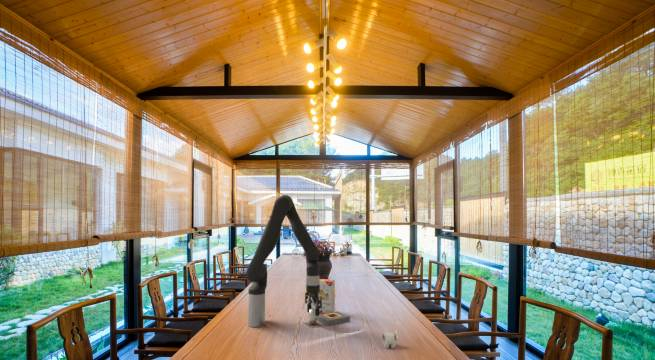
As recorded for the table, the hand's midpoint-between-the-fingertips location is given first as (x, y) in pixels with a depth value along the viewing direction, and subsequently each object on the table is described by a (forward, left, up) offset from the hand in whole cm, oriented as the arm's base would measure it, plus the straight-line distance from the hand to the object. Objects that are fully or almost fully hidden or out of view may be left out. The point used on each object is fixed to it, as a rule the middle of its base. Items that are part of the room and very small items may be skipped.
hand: (313, 313), depth 202 cm
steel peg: (-1, 0, -6) cm, 6 cm away
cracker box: (-18, +17, -8) cm, 26 cm away
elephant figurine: (+42, +16, -8) cm, 46 cm away
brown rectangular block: (-1, 0, -7) cm, 7 cm away
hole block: (-1, +13, -7) cm, 15 cm away
